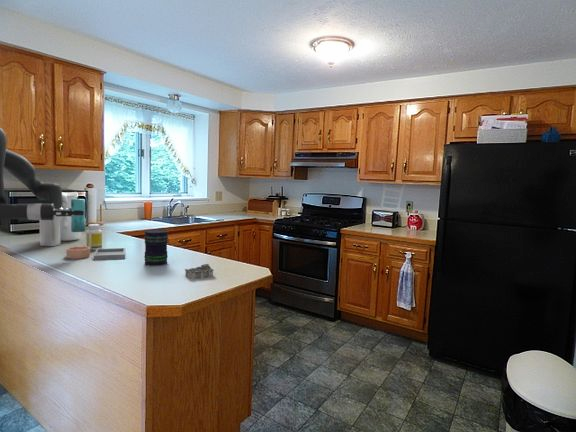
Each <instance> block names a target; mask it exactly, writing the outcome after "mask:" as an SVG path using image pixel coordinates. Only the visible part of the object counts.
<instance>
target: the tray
mask: <svg viewBox="0 0 576 432" xmlns="http://www.w3.org/2000/svg"><path fill="white" fill-rule="evenodd" d="M102 259H103V260H119V259H120V260H121V259H123V260H124V259H126V247H118V248H117V247H115V248H101V249H96V250H95V251H94V253H93V261H97V260H100V261H101V260H102Z"/></svg>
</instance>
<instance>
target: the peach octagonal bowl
mask: <svg viewBox="0 0 576 432" xmlns="http://www.w3.org/2000/svg"><path fill="white" fill-rule="evenodd" d="M65 253H66V258H67V259H71V260H72V259H74V260H75V259H77V260H78V259H85V258H89V257H90V256H91V250H90V247H87V245H86V246H83V245H81V246H80V245H79V246H71V247H66V251H65Z"/></svg>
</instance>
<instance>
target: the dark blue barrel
mask: <svg viewBox="0 0 576 432" xmlns="http://www.w3.org/2000/svg"><path fill="white" fill-rule="evenodd" d="M168 235H169V234H168V230H166V229H147V230H144V245H145V247H144V248H145V249H144V250H145V251H144V256H143V257H144V265H145V266H148V265H149V267H161V266H165V265H168V241H169V240H168V239H169V237H168Z"/></svg>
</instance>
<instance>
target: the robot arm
mask: <svg viewBox="0 0 576 432" xmlns="http://www.w3.org/2000/svg"><path fill="white" fill-rule="evenodd" d="M7 141H8V140H7V134H6V132H5V131H4V129H3V128H1V127H0V221H1V220H26V221H27V220H28V221H29V220H31V221H39V246H41V247H54V246H55V247H57V246H60V245H62V244H61V243H62V240H61V232H60V217H62V216H66V217H67V216H74V215H84V211H83V210H71V208H63V207H61V204H62V192H63V191H62V187H61V186H60V184H58V183H56V182H55V183H53V182H43V181H41V179H40V180H39V178H38V177H37V175H36V168H35V166H34V165H33V164H32V163H31V162H30V161H29V160H28V159H27V158H26V157H24V156H22V155H21V154H19V153H16V152H14V151H12V150H9V149H8V148H7ZM4 169H6V170H7V172H9V174H11V175H12V176H13V177H14V178H16V179H17V180H18V181H19V182H21V183H22V184H23V186H24V185H25V187H26V188H27V189H28V190H29V191H30V192H31V193H32V194H33V195H34V196H35V197H36V198H37V199H38V200H41V201H48V202H47V203H36V202H35V203H13V204H11V203H10V204H9V203H7V199H6V195H5V182H4V181H5V180H4Z"/></svg>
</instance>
